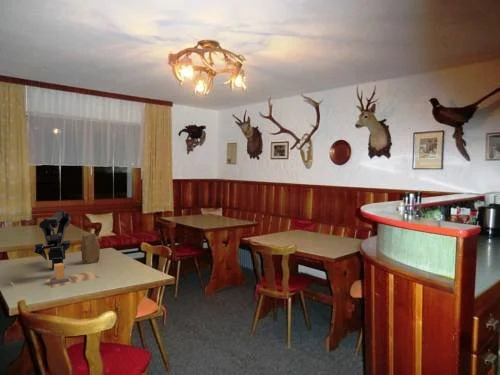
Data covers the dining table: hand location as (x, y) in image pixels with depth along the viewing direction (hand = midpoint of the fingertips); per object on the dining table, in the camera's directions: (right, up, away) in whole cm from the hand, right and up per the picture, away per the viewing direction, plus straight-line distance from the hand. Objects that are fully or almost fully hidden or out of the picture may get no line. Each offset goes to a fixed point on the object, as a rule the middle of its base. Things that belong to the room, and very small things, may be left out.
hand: (55, 258), depth 207 cm
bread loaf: (+3, -11, +40) cm, 41 cm away
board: (+10, -13, 0) cm, 16 cm away
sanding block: (+5, -12, -5) cm, 14 cm away
